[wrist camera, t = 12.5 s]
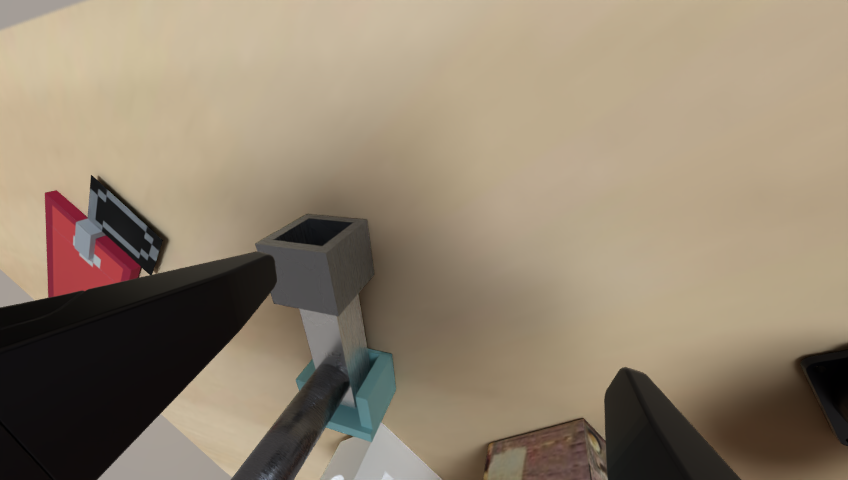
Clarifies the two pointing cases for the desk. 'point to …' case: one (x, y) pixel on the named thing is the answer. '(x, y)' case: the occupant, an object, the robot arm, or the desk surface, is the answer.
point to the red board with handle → (95, 242)
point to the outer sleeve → (320, 262)
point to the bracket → (377, 460)
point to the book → (549, 455)
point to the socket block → (363, 398)
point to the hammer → (314, 394)
